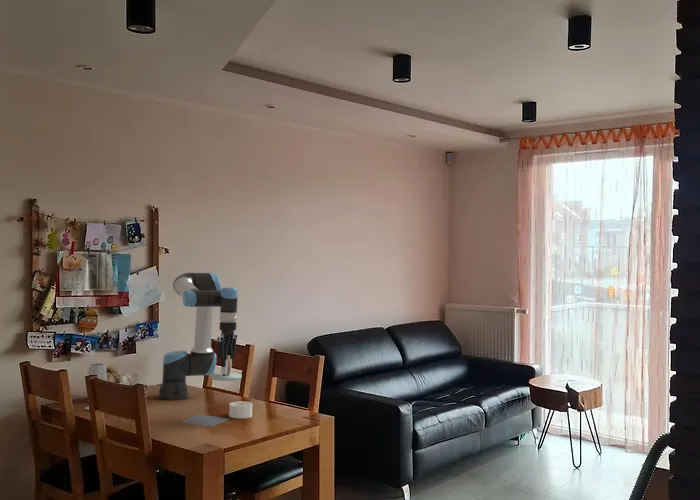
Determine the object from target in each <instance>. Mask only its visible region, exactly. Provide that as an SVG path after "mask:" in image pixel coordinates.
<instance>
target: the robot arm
mask: <svg viewBox="0 0 700 500" xmlns="http://www.w3.org/2000/svg"><path fill="white" fill-rule="evenodd" d="M220 279H221V278H220V277H219V274H217V273H212V272H186V273H181V274H180V275H178V276H176V278H175V279H174V281H173V283H172V288H173V290H174V292H175V294H177V295H179V296H182V303H183V306H184V307H189V308H194V307H195V308H196V310H195V327H194V345H193V347H192V348H191V349H190V353H188V351H186V350H174V351H169V352H166V353H165V354H164V355H163V358H162V359H163V361H162V382H161V385H160V388H159V391H158V394H157V396H158V399H160V398H161V400H166V399H167V400H166V401H168V400H170V401H172V400H173V401H174V400H175V401H176V400H186V399H188V398H189V394H190V393H189V389H188V385H187V382H186V381H187V380H186V379H187V377H195V376H196V377H199V376H200V377H201V376H202V377H204V376H210V375H211V374H214V372H215V370H216V368H217V358H218V359H219V360H221V361H220V363H221V364H220V366H221V367H220V373H221V374H227V361H228V360H226V358H227V355H230V373H232V364H233V359H235V357H236V349H237V348H236V347H237V346H236V345H237V339H238V335H237V334H235V331H236V330H237V322H236V321H237V319H238V318H237V317H238V297H239V294H238V288H237V287H228V286H227V287H225V286H224V287H222V286H221V280H220ZM216 307H217V308H220V309H219V321H220V322H219V327H218V329H219V331H221V333H220V336H218V337H217V342H218V343H217V353H218V354H216V353H215V352H214V349H213V348H212V333H213V320H214V319H213V316H214V308H216ZM217 356H218V357H217Z"/></svg>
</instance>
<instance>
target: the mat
mask: <svg viewBox="0 0 700 500" xmlns="http://www.w3.org/2000/svg"><path fill="white" fill-rule="evenodd" d="M230 420H231V417H230V418H227V417H220V416H212V415H207V414H206V415H205V414H199V415H196V416H194V417H190V418H188V419H186V420H182V421H180V423H181V424H182V423H183V424H191V425H195V426H196V425H197V426H206V427H214V426H217V425H220V424H222V423H224V422H227V421H230Z"/></svg>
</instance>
